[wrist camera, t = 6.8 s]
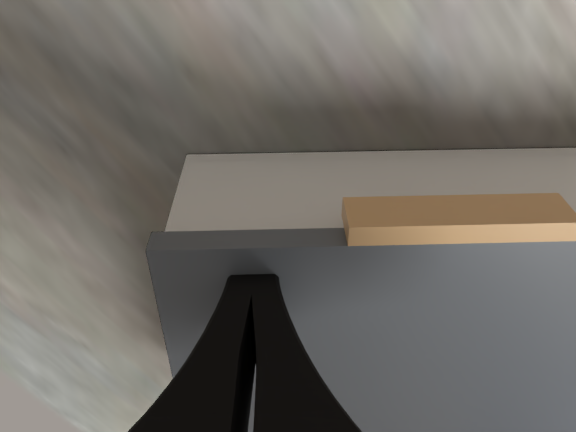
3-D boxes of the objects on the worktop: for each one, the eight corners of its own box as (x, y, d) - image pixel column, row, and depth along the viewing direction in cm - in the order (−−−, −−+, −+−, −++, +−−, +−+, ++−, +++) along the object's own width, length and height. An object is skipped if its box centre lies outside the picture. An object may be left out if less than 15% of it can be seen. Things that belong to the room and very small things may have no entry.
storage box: (535, 363, 25) (587, 458, 21) (215, 371, 25) (204, 471, 21) (625, 146, 19) (727, 225, 14) (186, 154, 18) (162, 238, 14)
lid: (585, 446, 22) (603, 479, 20) (201, 458, 21) (197, 492, 20) (742, 189, 14) (784, 218, 13) (152, 200, 14) (141, 231, 13)
